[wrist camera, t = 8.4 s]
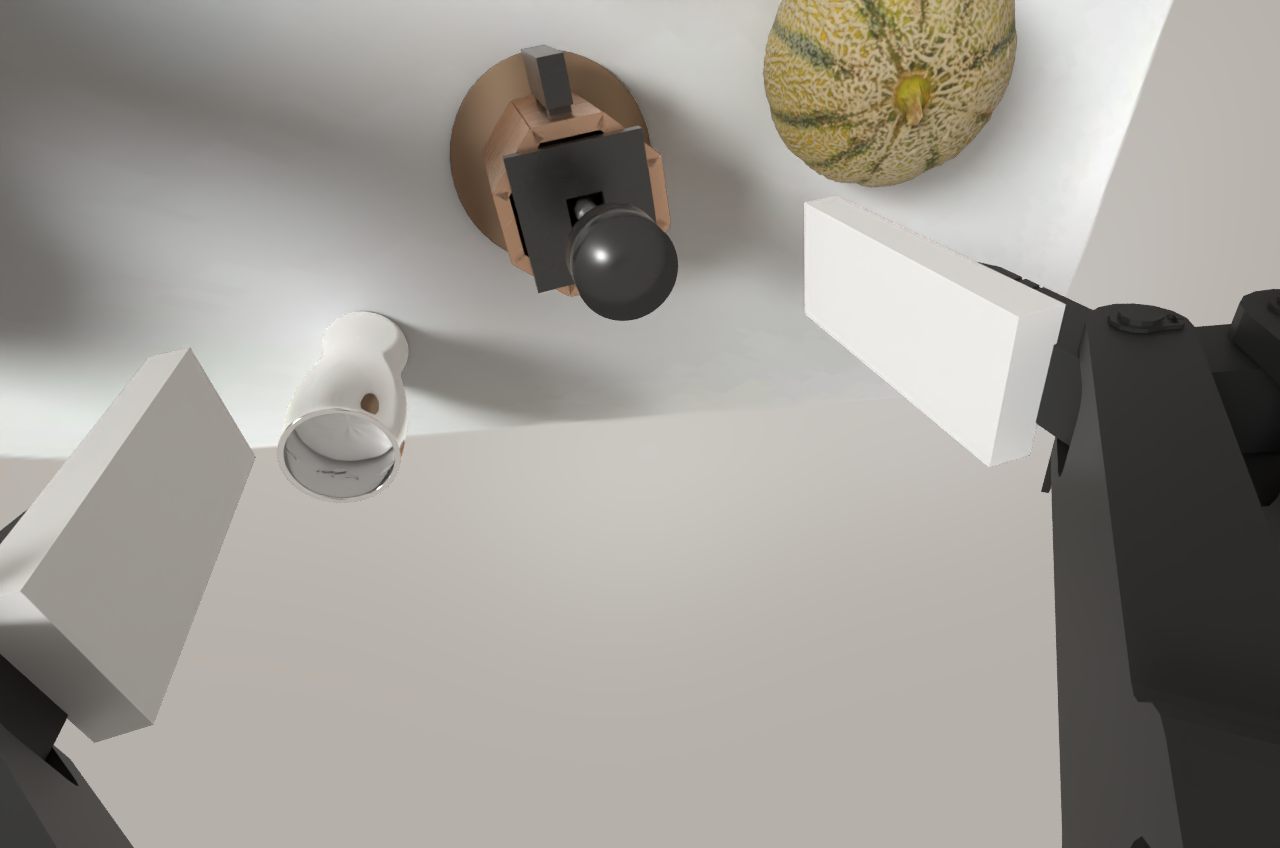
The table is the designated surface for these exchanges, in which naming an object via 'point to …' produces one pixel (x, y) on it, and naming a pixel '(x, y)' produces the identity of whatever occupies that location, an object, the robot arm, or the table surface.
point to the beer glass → (348, 412)
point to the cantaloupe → (886, 82)
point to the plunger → (618, 256)
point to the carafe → (563, 169)
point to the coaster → (489, 106)
